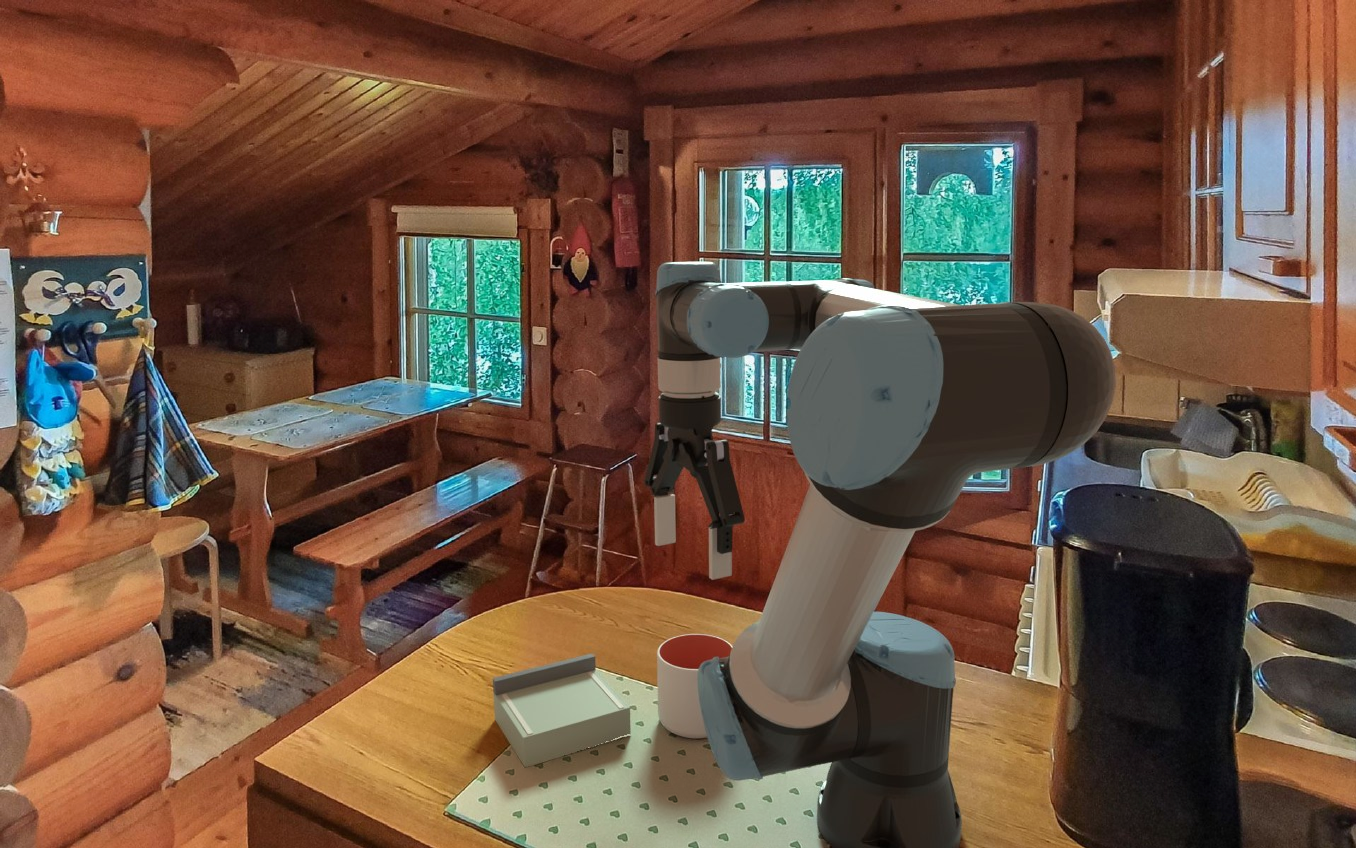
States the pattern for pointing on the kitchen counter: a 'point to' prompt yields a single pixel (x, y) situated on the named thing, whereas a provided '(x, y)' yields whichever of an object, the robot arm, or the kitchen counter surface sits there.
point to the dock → (558, 709)
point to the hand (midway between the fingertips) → (691, 559)
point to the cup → (684, 681)
